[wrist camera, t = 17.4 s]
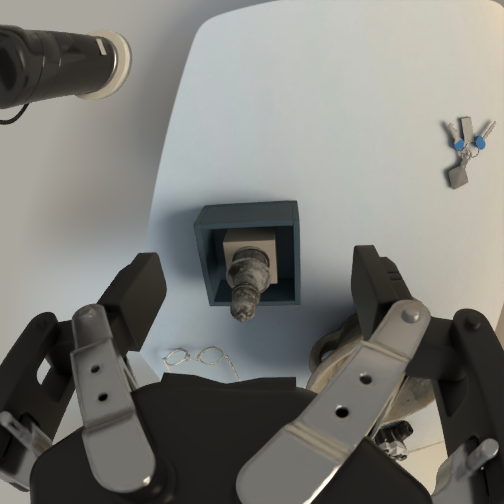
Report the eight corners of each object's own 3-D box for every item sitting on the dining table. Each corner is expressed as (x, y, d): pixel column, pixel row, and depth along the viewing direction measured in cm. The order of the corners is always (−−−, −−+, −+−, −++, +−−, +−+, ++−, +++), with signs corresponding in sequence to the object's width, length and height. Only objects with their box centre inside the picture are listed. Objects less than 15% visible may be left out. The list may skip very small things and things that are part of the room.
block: (233, 266, 50) (229, 284, 46) (228, 226, 46) (222, 242, 42) (277, 265, 49) (277, 283, 45) (275, 224, 46) (274, 240, 41)
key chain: (459, 193, 40) (462, 195, 40) (423, 169, 39) (425, 170, 39) (495, 122, 34) (497, 123, 33) (460, 92, 33) (463, 92, 32)
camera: (416, 424, 77) (427, 446, 68) (390, 442, 80) (399, 465, 70) (395, 413, 73) (406, 438, 64) (366, 433, 76) (375, 459, 67)
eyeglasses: (231, 342, 60) (228, 360, 56) (252, 394, 69) (250, 411, 64) (160, 346, 63) (154, 363, 58) (191, 395, 72) (186, 411, 67)
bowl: (390, 239, 46) (423, 298, 33) (453, 320, 53) (479, 374, 40) (274, 330, 57) (270, 396, 44) (355, 385, 65) (362, 440, 52)
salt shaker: (271, 281, 45) (267, 342, 34) (230, 279, 45) (215, 338, 35) (273, 245, 42) (269, 302, 31) (229, 243, 42) (212, 298, 32)
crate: (217, 280, 53) (209, 306, 47) (204, 205, 46) (193, 224, 40) (298, 278, 51) (300, 304, 45) (297, 200, 44) (299, 219, 38)
